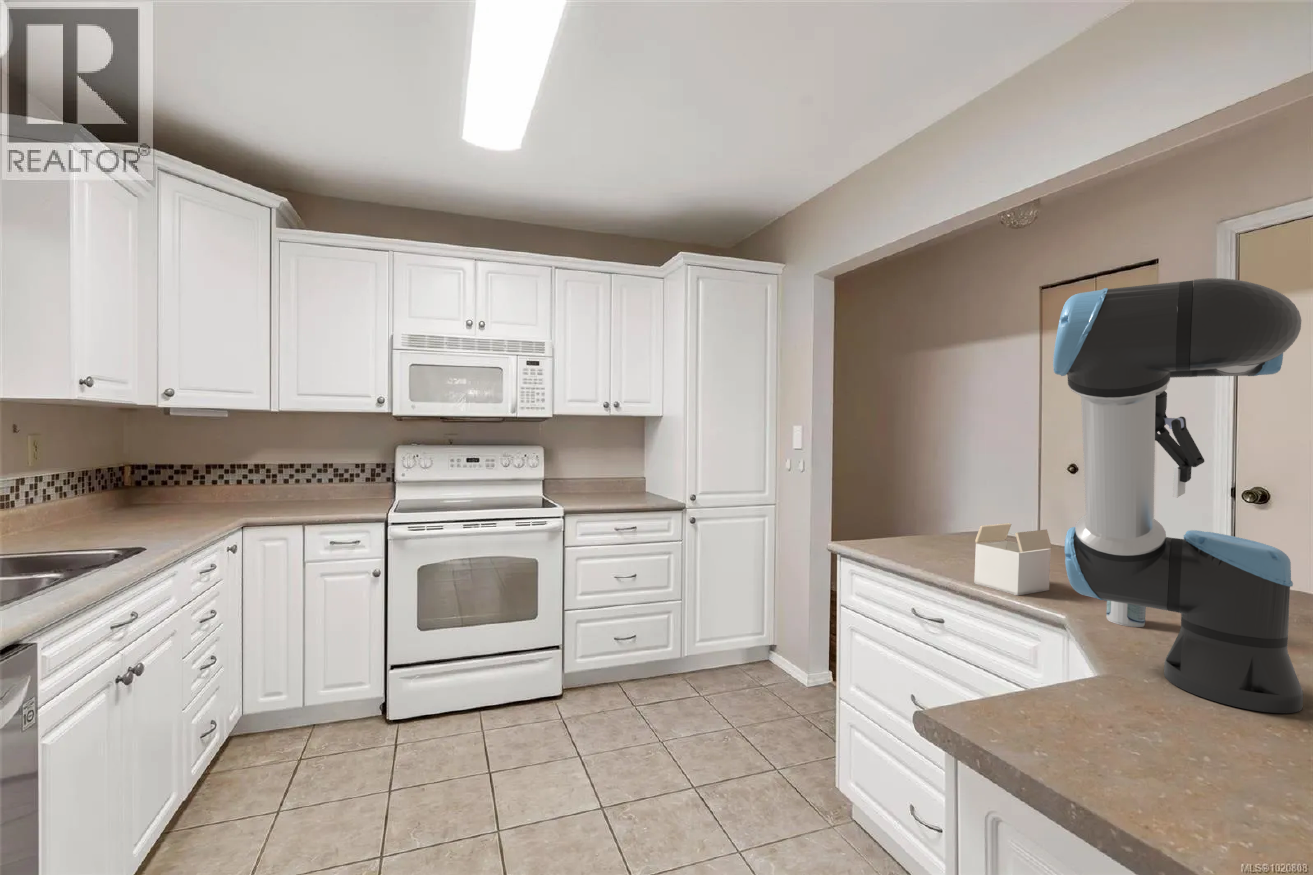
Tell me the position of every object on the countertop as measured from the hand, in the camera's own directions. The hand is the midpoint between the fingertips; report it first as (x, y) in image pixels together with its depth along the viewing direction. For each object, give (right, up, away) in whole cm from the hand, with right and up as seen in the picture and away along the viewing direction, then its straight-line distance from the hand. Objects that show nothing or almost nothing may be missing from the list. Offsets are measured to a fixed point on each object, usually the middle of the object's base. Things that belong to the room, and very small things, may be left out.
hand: (1140, 486), depth 126 cm
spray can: (-8, -27, -5) cm, 29 cm away
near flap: (-14, -14, +15) cm, 25 cm away
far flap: (-18, -14, +23) cm, 33 cm away
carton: (-16, -26, +19) cm, 36 cm away
